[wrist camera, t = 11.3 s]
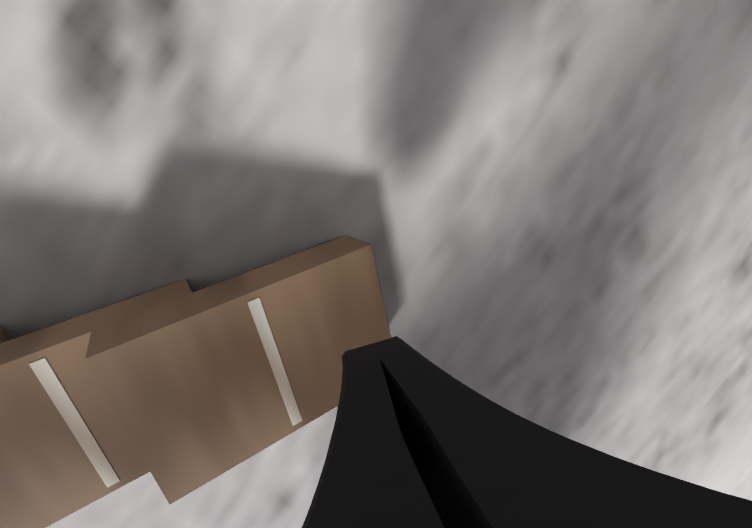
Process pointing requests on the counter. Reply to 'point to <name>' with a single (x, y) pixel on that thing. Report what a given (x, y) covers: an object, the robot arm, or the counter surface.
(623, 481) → the robot arm
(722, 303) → the counter surface
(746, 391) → the counter surface
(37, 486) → the domino
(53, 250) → the counter surface
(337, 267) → the domino
